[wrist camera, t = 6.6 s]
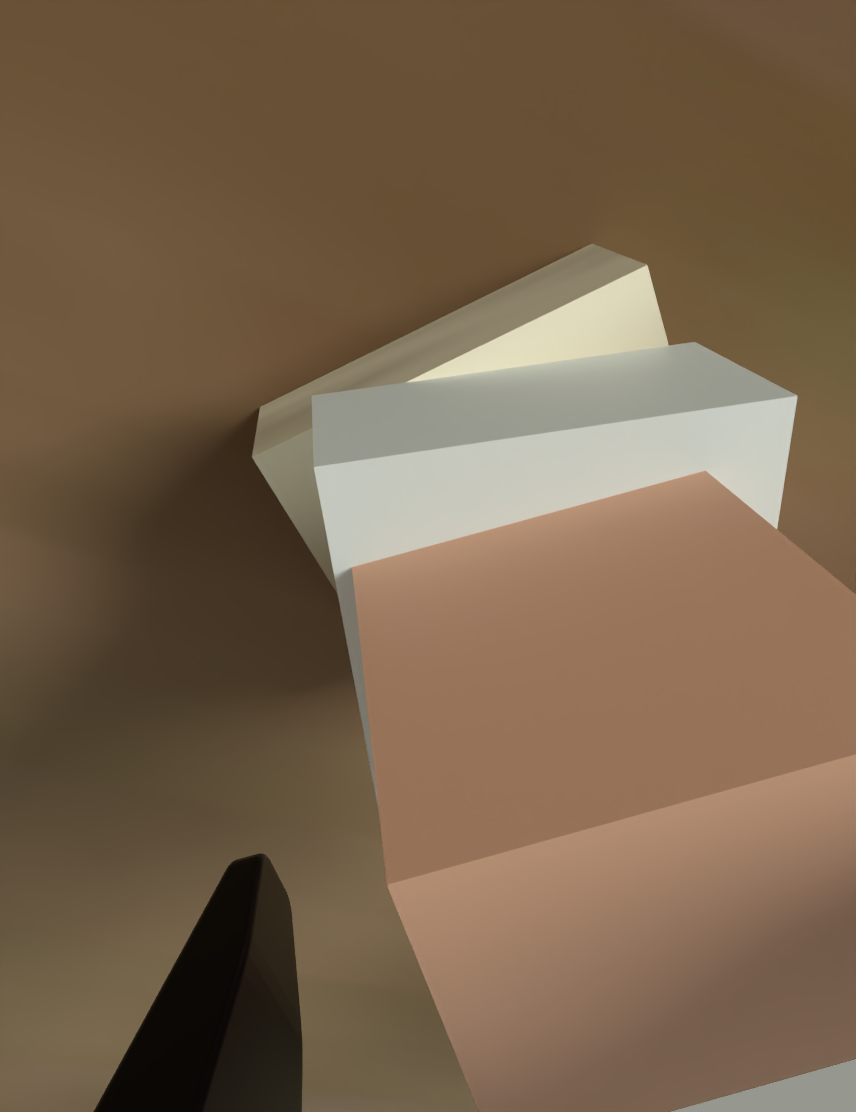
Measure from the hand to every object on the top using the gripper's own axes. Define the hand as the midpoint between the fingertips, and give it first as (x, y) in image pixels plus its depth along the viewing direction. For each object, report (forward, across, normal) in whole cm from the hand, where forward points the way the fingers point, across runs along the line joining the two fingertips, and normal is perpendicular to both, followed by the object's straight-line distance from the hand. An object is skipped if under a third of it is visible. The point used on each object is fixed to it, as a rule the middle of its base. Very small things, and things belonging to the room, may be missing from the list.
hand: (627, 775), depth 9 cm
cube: (+3, 0, 0) cm, 3 cm away
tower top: (+6, 0, 0) cm, 6 cm away
